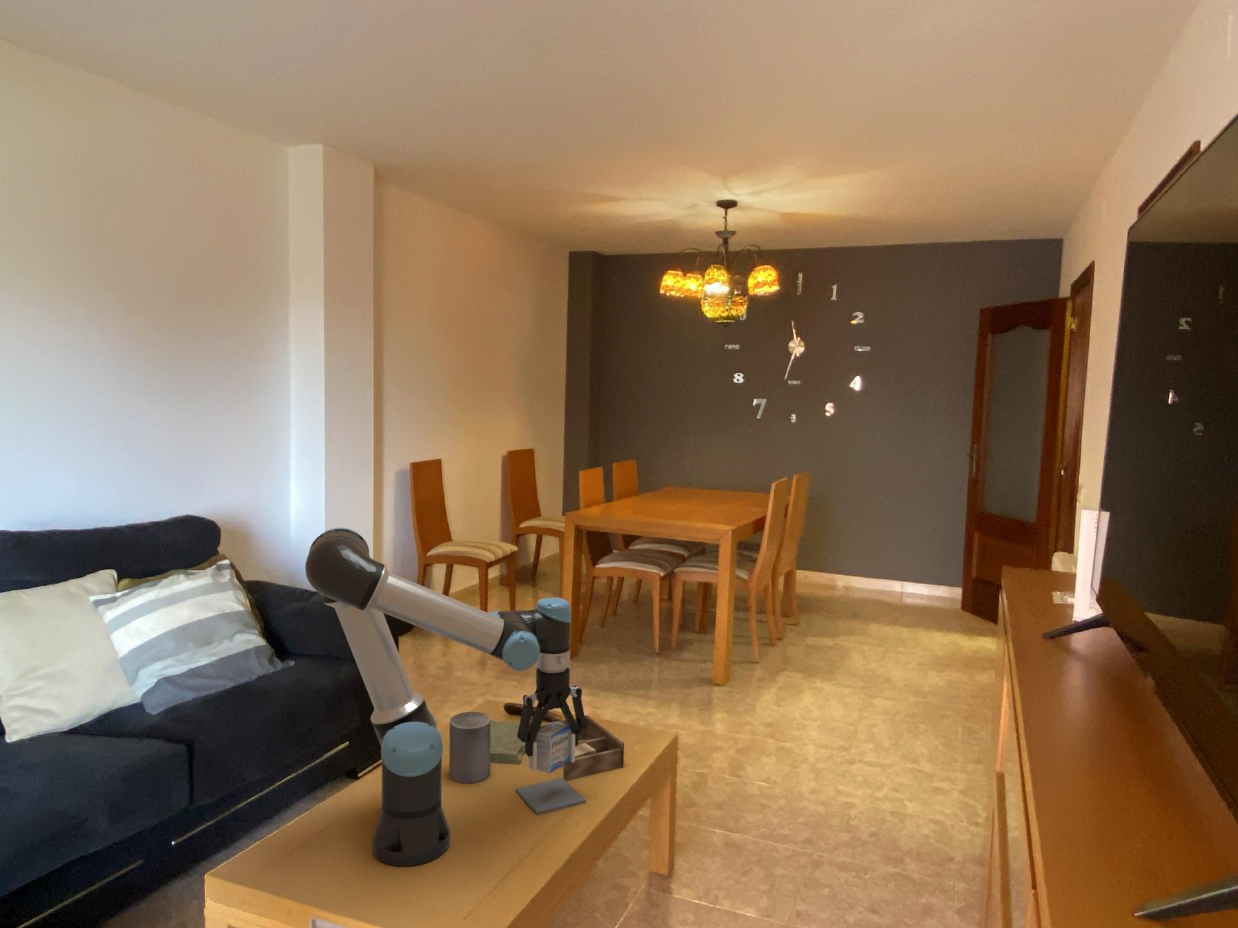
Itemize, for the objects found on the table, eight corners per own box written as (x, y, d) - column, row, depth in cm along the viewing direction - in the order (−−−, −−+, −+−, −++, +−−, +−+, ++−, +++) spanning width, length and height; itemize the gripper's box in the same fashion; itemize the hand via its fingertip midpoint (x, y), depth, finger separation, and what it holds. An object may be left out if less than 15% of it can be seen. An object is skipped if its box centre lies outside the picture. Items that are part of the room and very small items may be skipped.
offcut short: (575, 765, 201) (575, 755, 201) (564, 758, 205) (564, 748, 205) (595, 759, 205) (595, 749, 205) (584, 752, 209) (584, 742, 208)
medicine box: (550, 774, 185) (550, 736, 184) (533, 769, 187) (534, 731, 186) (570, 760, 192) (570, 724, 191) (554, 756, 194) (554, 720, 193)
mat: (537, 814, 182) (537, 812, 182) (515, 790, 192) (515, 788, 192) (585, 802, 188) (586, 799, 188) (562, 779, 198) (562, 777, 198)
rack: (565, 780, 198) (565, 755, 197) (531, 748, 215) (531, 725, 214) (623, 766, 206) (624, 743, 205) (586, 736, 223) (587, 715, 222)
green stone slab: (450, 761, 207) (451, 748, 207) (473, 729, 227) (473, 716, 227) (524, 767, 205) (525, 753, 205) (541, 734, 225) (541, 721, 225)
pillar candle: (460, 762, 206) (460, 703, 204) (497, 768, 203) (497, 708, 202) (441, 780, 196) (441, 719, 195) (480, 786, 194) (480, 724, 192)
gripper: (515, 680, 179) (514, 781, 181) (603, 665, 189) (601, 760, 191) (501, 669, 185) (501, 767, 187) (587, 655, 196) (586, 748, 198)
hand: (551, 764), depth 189 cm, fingers closed on medicine box, 9 cm apart
